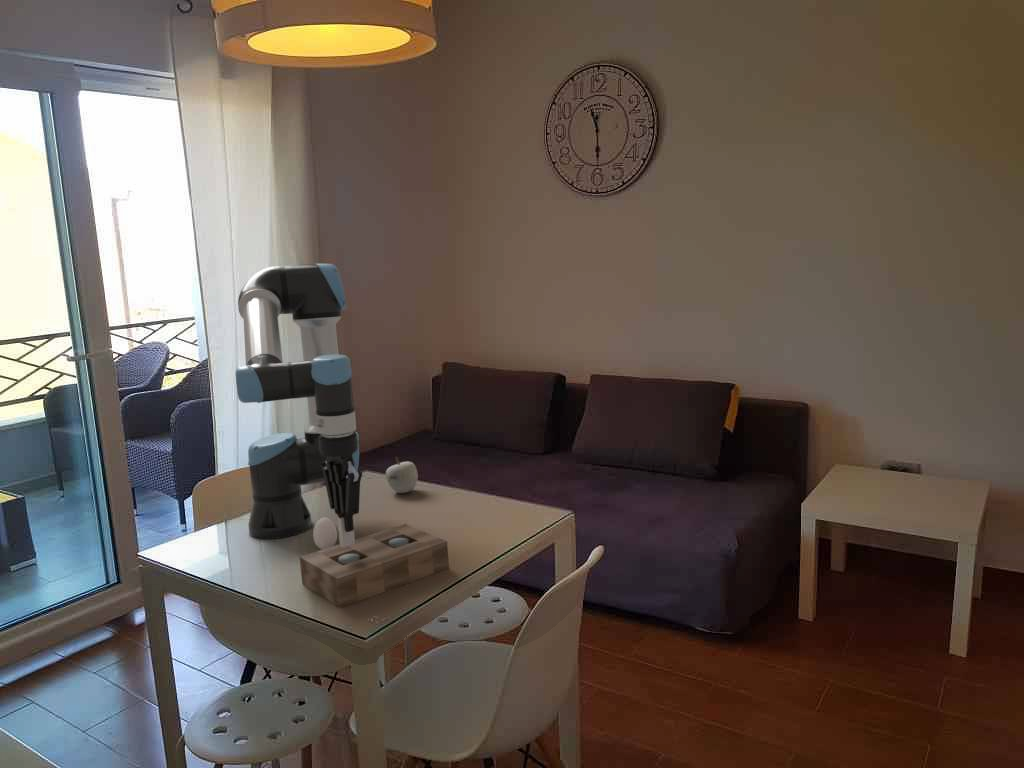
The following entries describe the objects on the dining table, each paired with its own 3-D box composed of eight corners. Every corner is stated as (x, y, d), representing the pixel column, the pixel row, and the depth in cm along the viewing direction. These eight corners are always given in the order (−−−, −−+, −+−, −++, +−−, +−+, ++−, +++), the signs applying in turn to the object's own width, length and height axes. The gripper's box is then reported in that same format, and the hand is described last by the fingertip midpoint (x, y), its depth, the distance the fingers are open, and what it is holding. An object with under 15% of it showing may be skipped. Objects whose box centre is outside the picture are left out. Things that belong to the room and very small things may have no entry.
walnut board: (302, 584, 170) (299, 556, 169) (407, 548, 187) (405, 523, 186) (340, 607, 158) (337, 578, 157) (449, 567, 175) (447, 541, 173)
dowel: (337, 584, 169) (334, 557, 168) (355, 577, 171) (352, 552, 170) (347, 589, 166) (344, 563, 165) (365, 583, 168) (363, 557, 167)
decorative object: (418, 496, 225) (415, 461, 223) (385, 498, 225) (383, 463, 223) (420, 486, 234) (417, 452, 232) (389, 488, 233) (386, 454, 231)
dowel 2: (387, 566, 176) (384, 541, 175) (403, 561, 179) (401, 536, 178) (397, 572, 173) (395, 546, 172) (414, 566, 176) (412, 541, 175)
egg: (317, 555, 185) (314, 523, 184) (312, 548, 190) (309, 516, 189) (341, 550, 188) (338, 518, 186) (334, 543, 192) (332, 512, 191)
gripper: (304, 431, 165) (315, 541, 170) (336, 442, 156) (347, 559, 160) (338, 424, 170) (347, 531, 175) (370, 434, 160) (380, 548, 165)
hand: (347, 544), depth 167 cm, fingers closed
